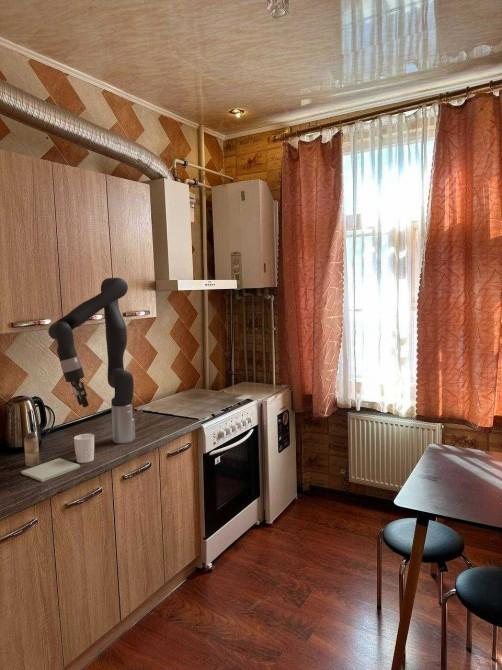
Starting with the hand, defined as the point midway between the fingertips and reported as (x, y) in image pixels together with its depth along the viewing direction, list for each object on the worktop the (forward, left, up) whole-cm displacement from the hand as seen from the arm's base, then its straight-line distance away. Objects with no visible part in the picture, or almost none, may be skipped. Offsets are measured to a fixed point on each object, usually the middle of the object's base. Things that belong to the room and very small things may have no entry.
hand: (83, 405), depth 189 cm
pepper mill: (+17, -11, -22) cm, 30 cm away
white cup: (+3, +4, -22) cm, 23 cm away
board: (+17, +2, -22) cm, 28 cm away
